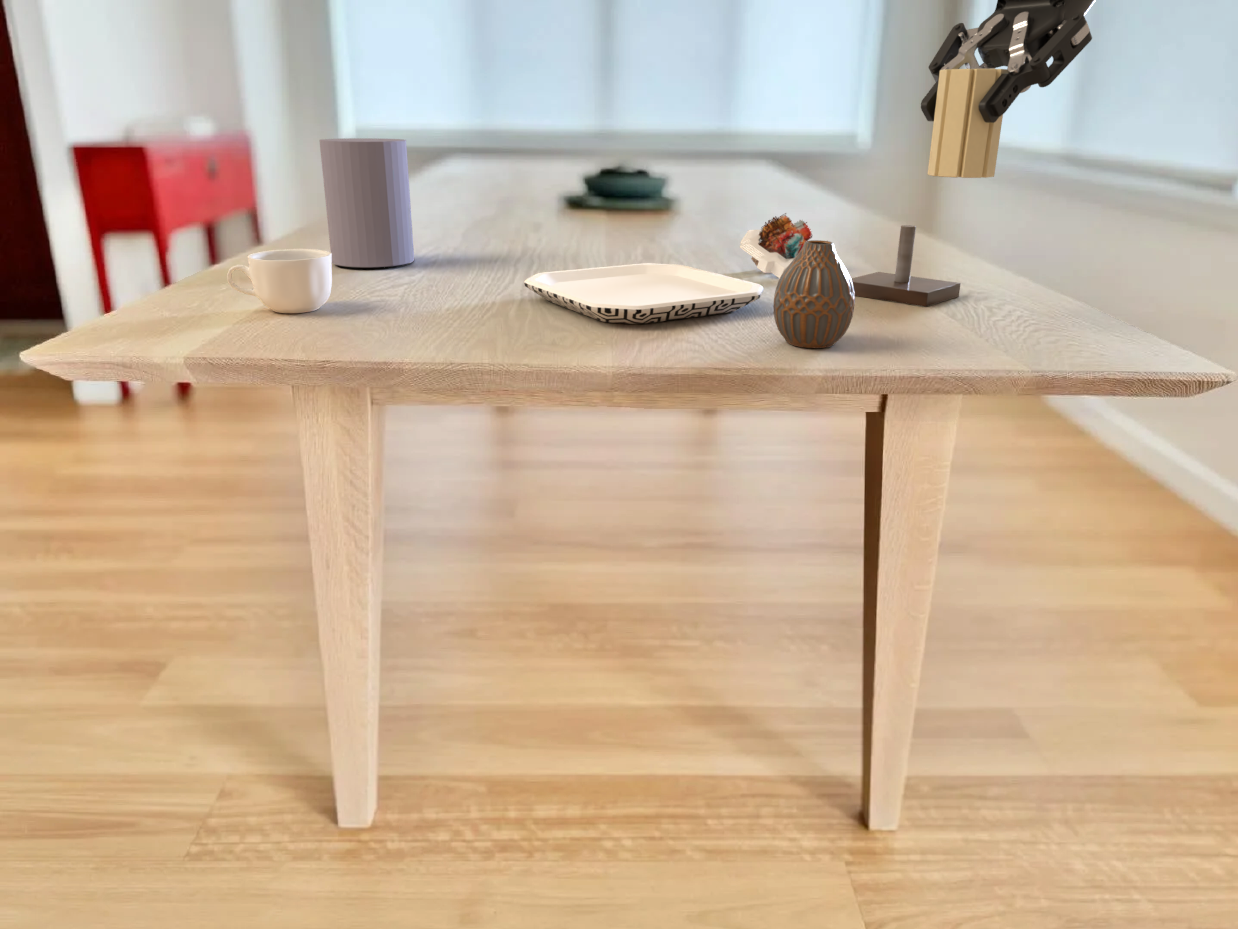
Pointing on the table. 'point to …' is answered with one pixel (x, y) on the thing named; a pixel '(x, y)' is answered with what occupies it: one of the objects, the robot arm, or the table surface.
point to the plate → (644, 292)
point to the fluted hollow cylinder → (964, 125)
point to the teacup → (288, 279)
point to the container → (367, 202)
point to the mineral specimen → (776, 244)
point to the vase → (814, 297)
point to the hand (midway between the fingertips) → (955, 114)
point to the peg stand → (905, 280)
